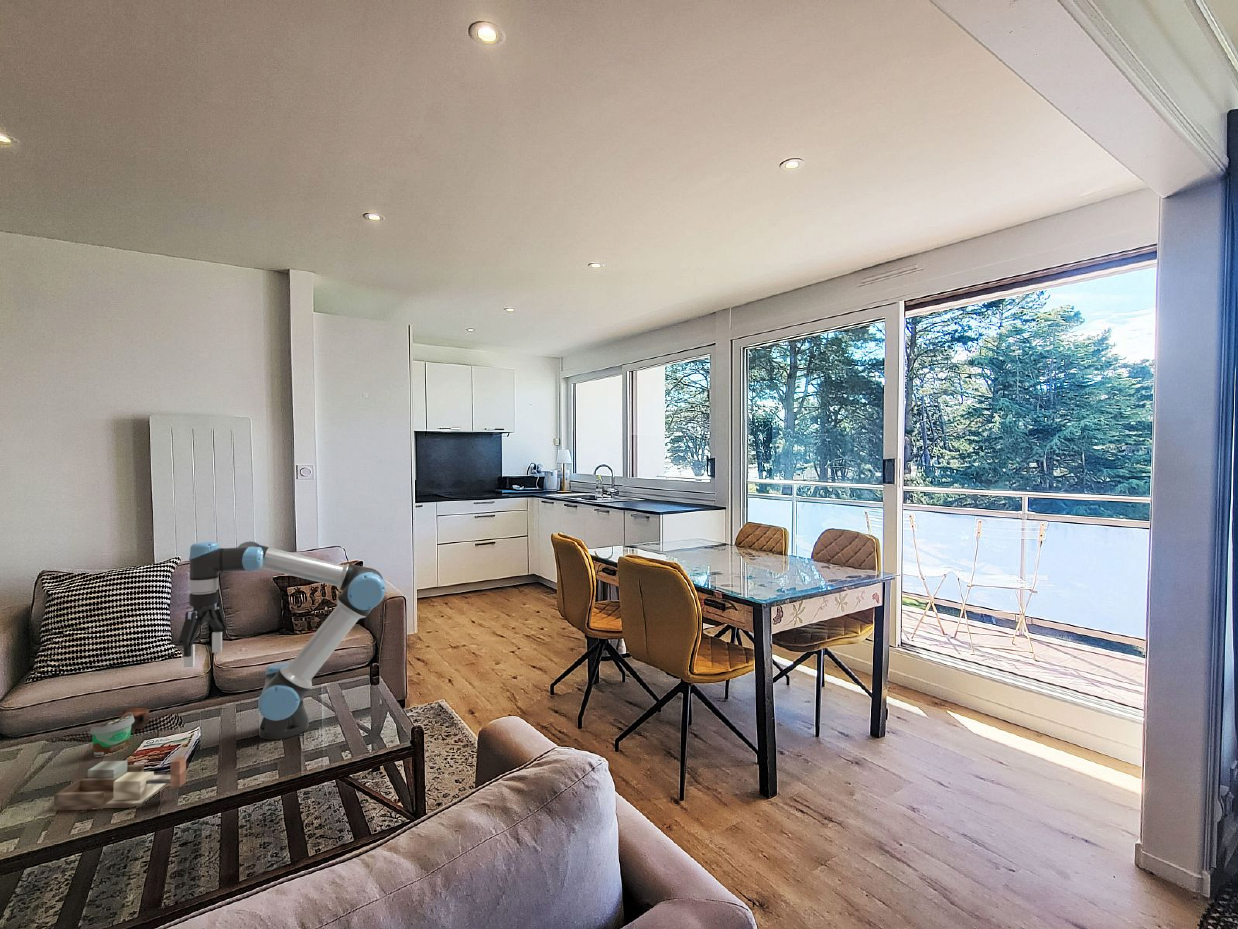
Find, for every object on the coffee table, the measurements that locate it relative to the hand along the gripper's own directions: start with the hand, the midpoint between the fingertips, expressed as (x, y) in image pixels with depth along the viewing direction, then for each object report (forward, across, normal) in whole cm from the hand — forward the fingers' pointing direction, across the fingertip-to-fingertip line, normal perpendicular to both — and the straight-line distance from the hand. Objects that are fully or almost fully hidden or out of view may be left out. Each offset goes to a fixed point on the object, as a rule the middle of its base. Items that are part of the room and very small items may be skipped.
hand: (203, 659), depth 185 cm
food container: (+32, -7, -31) cm, 45 cm away
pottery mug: (+32, -23, -37) cm, 54 cm away
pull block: (+30, +22, 0) cm, 37 cm away
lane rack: (+32, +18, -11) cm, 38 cm away
